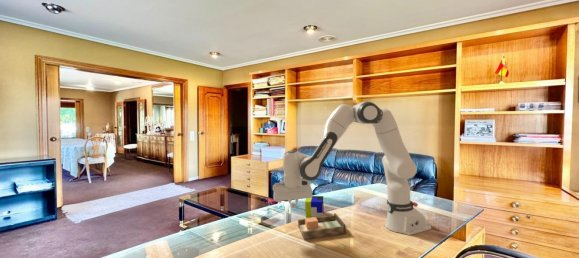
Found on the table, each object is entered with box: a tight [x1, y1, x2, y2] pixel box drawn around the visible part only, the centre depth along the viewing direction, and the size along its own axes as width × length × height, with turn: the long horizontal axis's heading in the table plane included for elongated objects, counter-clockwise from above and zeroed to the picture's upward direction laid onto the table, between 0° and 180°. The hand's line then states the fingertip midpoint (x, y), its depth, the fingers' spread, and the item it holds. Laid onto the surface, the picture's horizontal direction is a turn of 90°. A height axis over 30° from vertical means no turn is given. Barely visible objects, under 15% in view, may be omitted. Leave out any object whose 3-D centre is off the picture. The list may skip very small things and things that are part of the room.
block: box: [304, 217, 318, 230], centre depth 137 cm, size 6×5×4 cm
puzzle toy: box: [304, 195, 325, 218], centre depth 158 cm, size 10×10×10 cm
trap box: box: [297, 213, 347, 240], centre depth 138 cm, size 22×15×5 cm
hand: (293, 207), depth 135 cm, fingers closed
